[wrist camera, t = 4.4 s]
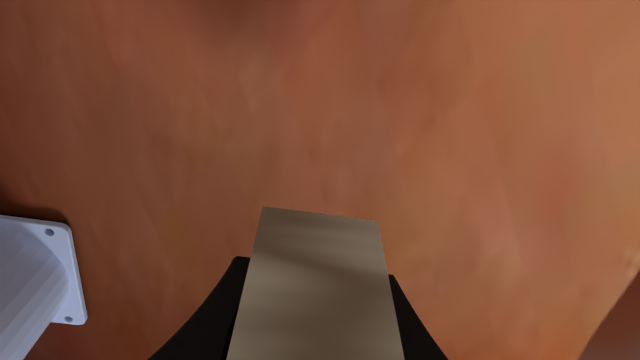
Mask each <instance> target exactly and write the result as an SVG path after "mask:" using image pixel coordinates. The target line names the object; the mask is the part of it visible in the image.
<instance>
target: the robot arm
mask: <svg viewBox="0 0 640 360" xmlns="http://www.w3.org/2000/svg"><path fill="white" fill-rule="evenodd" d="M50 229H51V230H53V231H51V230H50ZM249 263H250V258H248V257H240V256H237V257H235V258H234V259H233V260H232V262H231V264H230V266H229V268H228V269H227V271H226V272H225V274H224V275H223V277H222V278H221V280H220V281H219V283H218V284H217V285H216V287H215V288H214V289H213V291H212V292H211V293H210V295H209V296H208V297H207V299H206V300H205V301H204V302H203V304H202V305H201V306H200V307H199V308H198V309H197V311H196V312H195V313H194V314H193V315H192V316H191V317H190V319H189V320H188V321H187V322H186V323H185V324H184V325H183V326H182V327H181V328H180V329H179V330H178V331H177V332H176V333H175V334H174V335H173V336H172V337H171V338H170V339H169V340H168V341H167V342H166V343H165V344H164V345H163V346H162V347H161V348H160V349H159V350H158V351H156V352H155V353H154V354H153V355H152V356H151V357H150V358H149V359H148V360H226V359H227V355H228V350H229V346H230V342H231V338H232V334H233V330H234V325H235V321H236V317H237V313H238V309H239V304H240V300H241V296H242V292H243V288H244V283H245V279H246V275H247V271H248V267H249ZM388 277H389V282H390V287H391V292H392V298H393V303H394V308H395V313H396V318H397V323H398V328H399V333H400V339H401V344H402V349H403V354H404V359H405V360H448V359H447V357H446V356H445V355H444V353H443V352H442V351H441V349H440V348H439V347H438V345H437V344H436V342H435V341H434V340H433V338H432V337H431V335H430V334H429V333H428V331H427V330H426V328H425V327H424V325H423V323H422V322H421V320H420V319H419V317H418V316H417V314H416V313H415V311H414V309H413V308H412V306H411V305H410V303H409V301H408V300H407V298H406V296H405V294H404V293H403V291H402V289H401V287H400V286H399V284H398V282H397V280H396V279H395V277H394V276H393V275H389V274H388ZM86 320H87V312H86V307H85V301H84V296H83V291H82V285H81V280H80V275H79V269H78V264H77V259H76V254H75V248H74V243H73V238H72V232H71V229H70V227H69V226H68V225H66V224H64V223H60V222H52V221H44V220H37V219H29V218H21V217H13V216H5V215H0V360H23V359H24V357H25V356H26V355H27V353H28V352H29V351H30V349H31V348H32V346H33V345H34V344H35V342H36V341H37V340H38V338H39V337H40V336H41V334H42V333H43V332H44V330H45V329H46V327H47V326H48V325H49V323H50V322H56V323H65V324H74V325H82V324H84V323H85V321H86Z"/></svg>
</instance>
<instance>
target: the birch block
mask: <svg viewBox="0 0 640 360" xmlns="http://www.w3.org/2000/svg"><path fill="white" fill-rule="evenodd" d="M226 360H405V359H404V354H403V349H402V344H401V339H400V333H399V328H398V323H397V318H396V313H395V308H394V303H393V298H392V292H391V287H390V282H389V277H388V272H387V267H386V262H385V257H384V251H383V246H382V241H381V236H380V231H379V226H378V221H374V220H366V219H358V218H350V217H342V216H334V215H327V214H319V213H311V212H303V211H295V210H287V209H280V208H272V207H264V206H263V208H262V212H261V216H260V221H259V225H258V229H257V233H256V237H255V242H254V246H253V250H252V254H251V258H250V263H249V267H248V271H247V275H246V279H245V283H244V288H243V292H242V296H241V300H240V304H239V309H238V313H237V317H236V321H235V325H234V330H233V334H232V338H231V342H230V346H229V350H228V355H227V359H226Z"/></svg>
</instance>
